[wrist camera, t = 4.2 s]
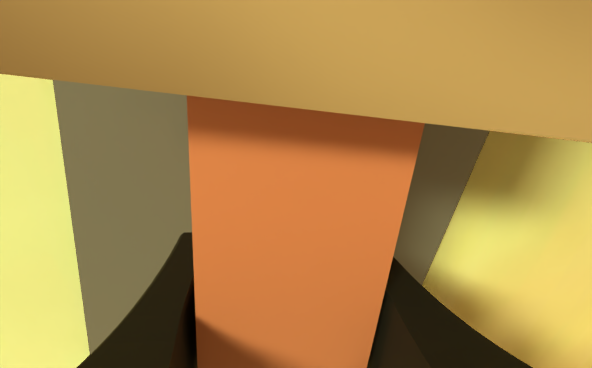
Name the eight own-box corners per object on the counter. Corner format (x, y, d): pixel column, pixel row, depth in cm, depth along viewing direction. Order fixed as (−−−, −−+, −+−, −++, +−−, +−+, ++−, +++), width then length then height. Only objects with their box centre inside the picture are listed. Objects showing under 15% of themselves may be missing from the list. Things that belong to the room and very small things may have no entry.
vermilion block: (206, -150, 9) (173, -238, 5) (385, -128, 10) (499, -190, 5) (212, 256, 14) (198, 389, 10) (328, 256, 15) (363, 383, 11)
